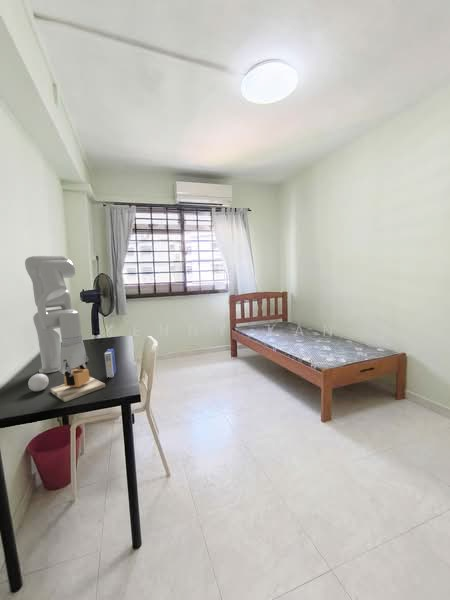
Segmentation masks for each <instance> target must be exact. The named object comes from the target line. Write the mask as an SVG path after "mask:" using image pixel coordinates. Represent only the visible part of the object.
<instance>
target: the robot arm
mask: <svg viewBox="0 0 450 600" xmlns="http://www.w3.org/2000/svg"><path fill="white" fill-rule="evenodd" d="M24 266H25V270H26V272H27V274H28V276H29V278H30V280H31V283H32V289H33V290H32V291H33V297H34V302H35V306H36V307H37V312H36V313H34V315H33V317H32V319H33V323H34V327H35V330H36V333H37V339H38V340H37V341H38V346H39V354H40V360H41V367H40V368H39V369H38V373H39V374H51V373H56V372H59V373H61V374H62V375H63V377H64V376H65V377H66V381H67V385H68V386H73V385H75V383H74V376H72V374H73V370H74V369H88V367H87V366H88V362H89V359H90V358H89V356H87V352H86V348H85V344H84V341H83V334H82V333H83V332H82V325H81V319H80V317H81V316H80V312H78V311H77V310H76V309H74V308H73V307H72V297H71V293H70V291H69V289H67V285H66V282H65V278H66V279H68V278H73V277H75V275H76V267H75V265H74V263H73V262H72V261H71V259H69V258H67V257H66V256H63V255H61V256H60V255H36V256H35V255H34V256H29V257H26V259H25V260H24ZM57 307H60V308H57ZM49 308H56V309H49ZM47 309H48V310H47ZM55 329H59V330H60V331H59V332H60V333H59V332H57V331H56V330H55ZM69 372H70V373H69Z"/></svg>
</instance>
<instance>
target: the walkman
mask: <svg viewBox="0 0 450 600" xmlns="http://www.w3.org/2000/svg"><path fill="white" fill-rule="evenodd" d="M104 360H105V361H104V363H105V371H106V379H107V378H108V377H109V378H113V377H114V376H115V375H116V373H117V366H116V355H115V349H114V348H108V349H107V350H106V351H105V352H104Z"/></svg>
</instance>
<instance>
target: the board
mask: <svg viewBox="0 0 450 600" xmlns="http://www.w3.org/2000/svg"><path fill="white" fill-rule="evenodd" d="M89 379H90V380H89V381H88V382H86V383H84V384H83V385H81V386H79V387H67V386H65V383H62V384H60V385H57V386H53V387H50V388H49V390H50V393H52V394H53V395H54V396H55V397H57V398H58V399H60V400H61V401H63V402H64V403H66V402H69V401H71V400H74V399H77V398H80V397H82V396H85V395H87V394H90V393H93V392H96V391H98V390H101V389H104V388H105V387H106V383H105V382H102V381H100V380H99V379H96V378H94V377H93V376H91V375H89Z"/></svg>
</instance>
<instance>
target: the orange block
mask: <svg viewBox="0 0 450 600" xmlns="http://www.w3.org/2000/svg"><path fill="white" fill-rule="evenodd" d="M68 372H69V373H70V371H68ZM72 376H74V383H75V385H73V386H68V385H67V381H66V377H65V376H64V375H63V380H64V381H63V382H64V383H63V384H65V386H67V387H79V386H81V385H83V384H84V383H86V382H88V381H89V380H90V379H89V376H90V371H89V369H88V368H86V369H80V368H75V369H73V374H72Z"/></svg>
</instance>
